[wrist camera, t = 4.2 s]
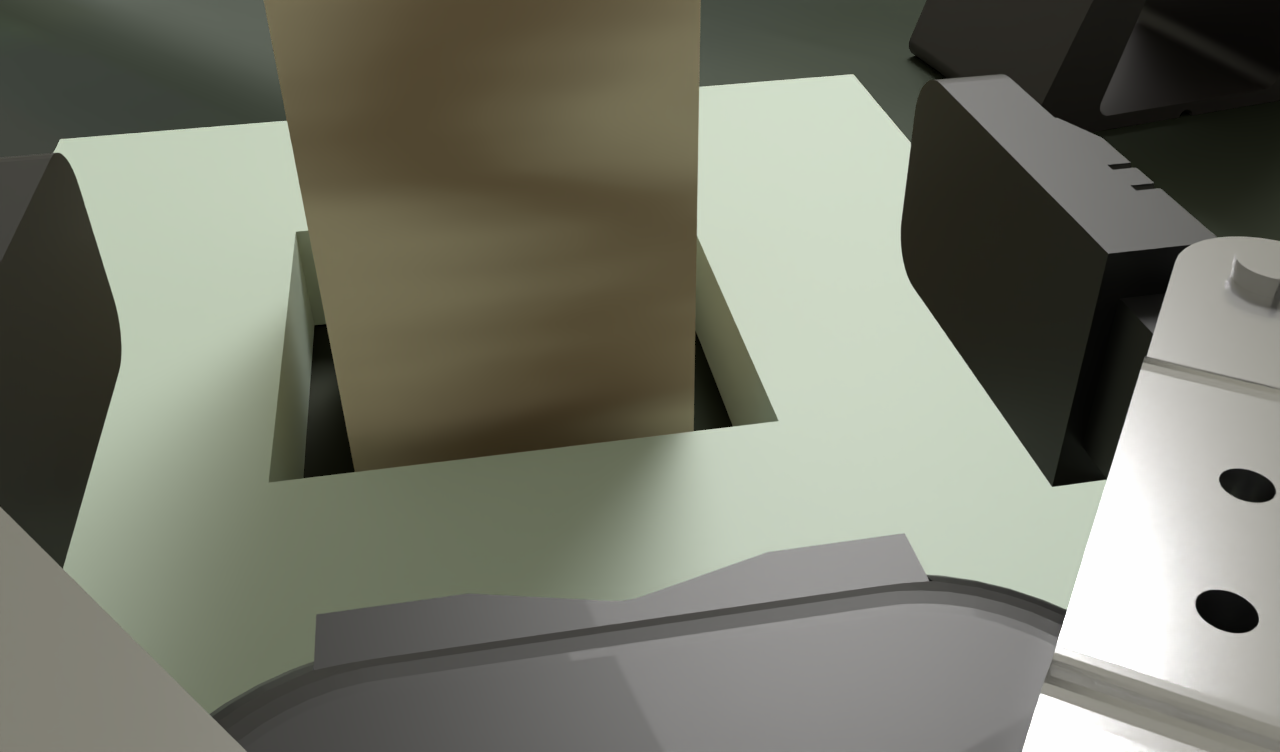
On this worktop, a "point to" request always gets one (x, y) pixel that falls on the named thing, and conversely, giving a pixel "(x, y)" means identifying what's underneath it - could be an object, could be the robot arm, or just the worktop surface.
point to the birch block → (499, 216)
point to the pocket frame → (550, 478)
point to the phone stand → (1111, 54)
